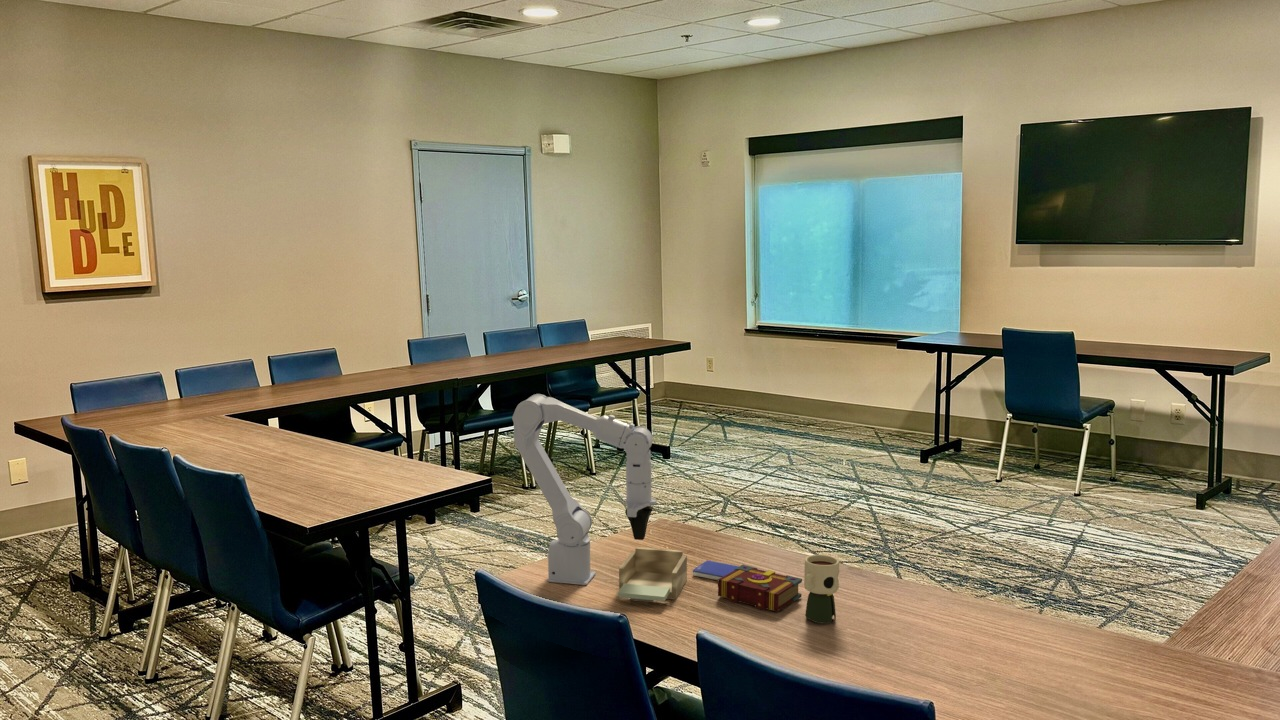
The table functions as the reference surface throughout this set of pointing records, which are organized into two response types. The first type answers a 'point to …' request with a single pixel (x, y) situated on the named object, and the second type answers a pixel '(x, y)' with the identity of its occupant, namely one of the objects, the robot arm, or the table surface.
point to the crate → (655, 569)
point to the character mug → (821, 587)
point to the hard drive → (713, 570)
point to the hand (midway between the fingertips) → (639, 538)
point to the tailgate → (643, 592)
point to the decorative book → (759, 588)
